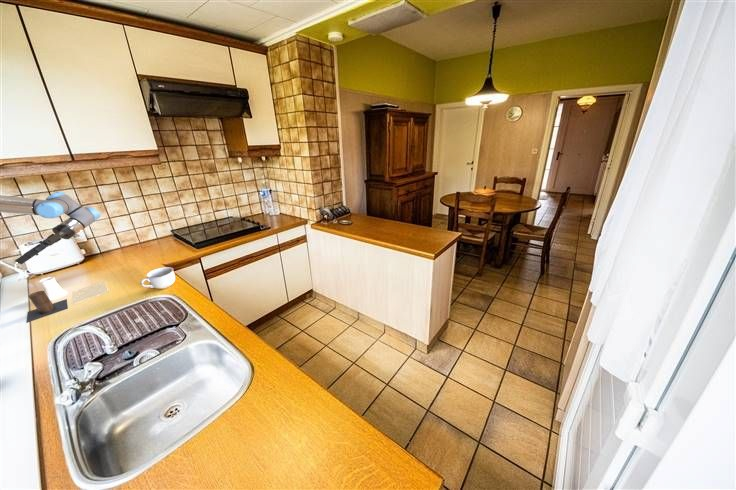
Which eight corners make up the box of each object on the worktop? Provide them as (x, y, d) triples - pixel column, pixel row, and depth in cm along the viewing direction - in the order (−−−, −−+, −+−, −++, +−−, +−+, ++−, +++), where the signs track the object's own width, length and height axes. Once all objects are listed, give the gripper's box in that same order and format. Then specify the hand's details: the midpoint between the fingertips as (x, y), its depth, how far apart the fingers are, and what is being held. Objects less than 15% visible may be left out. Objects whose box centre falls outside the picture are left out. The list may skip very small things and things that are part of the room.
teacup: (174, 277, 139) (168, 264, 136) (181, 284, 133) (175, 270, 129) (141, 290, 129) (135, 275, 126) (147, 297, 123) (141, 282, 120)
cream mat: (72, 293, 130) (71, 291, 130) (105, 282, 138) (104, 281, 138) (74, 305, 120) (73, 303, 120) (109, 293, 128) (108, 291, 128)
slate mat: (28, 313, 116) (27, 311, 116) (67, 300, 124) (66, 298, 124) (27, 324, 109) (26, 322, 108) (68, 310, 117) (67, 308, 116)
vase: (50, 303, 123) (38, 284, 119) (43, 299, 126) (31, 281, 122) (72, 294, 129) (61, 276, 125) (65, 291, 132) (54, 274, 128)
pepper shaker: (40, 311, 115) (28, 294, 112) (55, 306, 118) (44, 289, 115) (39, 315, 112) (27, 298, 109) (55, 310, 116) (44, 293, 112)
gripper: (85, 228, 132) (41, 258, 117) (66, 240, 143) (23, 270, 128) (69, 217, 128) (21, 247, 113) (50, 230, 139) (4, 259, 124)
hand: (22, 259), depth 120 cm, fingers open, 13 cm apart
